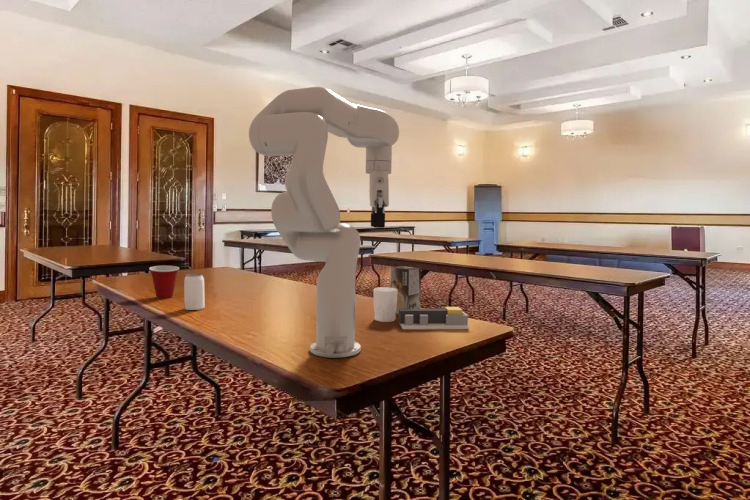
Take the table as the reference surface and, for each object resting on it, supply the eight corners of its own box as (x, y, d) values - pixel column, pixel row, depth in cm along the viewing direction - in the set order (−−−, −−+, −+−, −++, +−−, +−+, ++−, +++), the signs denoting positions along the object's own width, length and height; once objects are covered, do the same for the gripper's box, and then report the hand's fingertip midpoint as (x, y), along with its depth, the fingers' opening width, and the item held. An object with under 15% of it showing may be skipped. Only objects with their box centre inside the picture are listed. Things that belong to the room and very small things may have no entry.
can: (185, 307, 160) (185, 273, 159) (205, 306, 162) (204, 273, 161) (183, 311, 154) (183, 276, 153) (204, 310, 156) (203, 275, 155)
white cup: (393, 323, 142) (393, 292, 141) (369, 321, 144) (369, 290, 143) (399, 318, 149) (400, 288, 148) (377, 316, 152) (377, 286, 151)
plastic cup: (153, 300, 170) (153, 269, 170) (146, 296, 179) (145, 266, 178) (183, 297, 177) (183, 267, 177) (175, 293, 186) (174, 264, 185)
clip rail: (468, 329, 136) (468, 315, 136) (402, 329, 135) (403, 316, 134) (460, 321, 145) (460, 309, 145) (398, 322, 144) (398, 309, 143)
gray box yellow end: (400, 324, 137) (400, 309, 136) (398, 320, 141) (398, 306, 141) (461, 324, 138) (462, 309, 138) (457, 320, 143) (458, 306, 142)
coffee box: (421, 314, 155) (422, 268, 154) (408, 317, 151) (409, 269, 149) (402, 310, 162) (403, 265, 161) (389, 312, 158) (390, 266, 156)
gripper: (395, 165, 123) (393, 228, 125) (387, 171, 141) (386, 226, 142) (367, 164, 123) (366, 227, 124) (363, 170, 140) (362, 226, 141)
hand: (377, 227), depth 133 cm, fingers open, 9 cm apart
